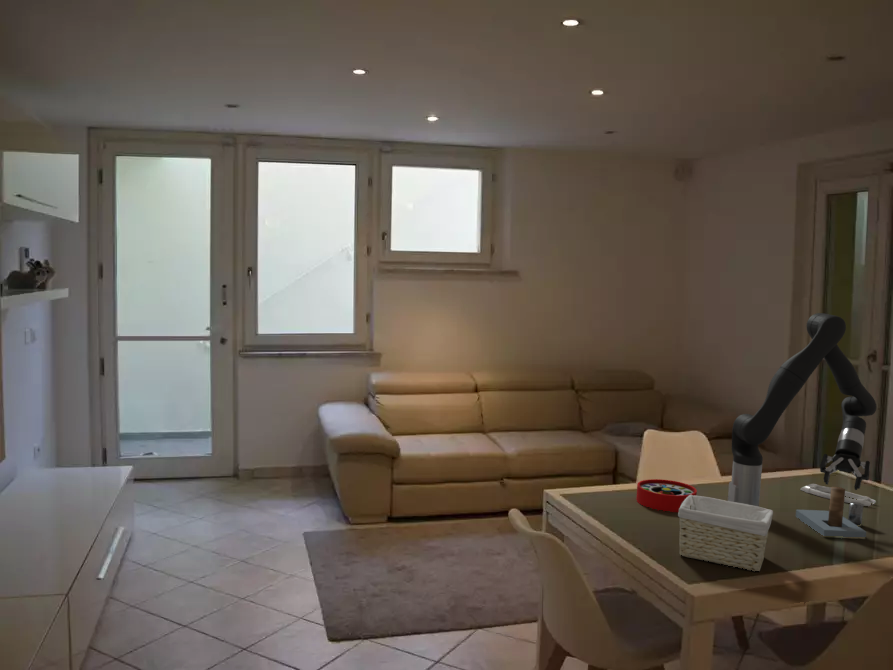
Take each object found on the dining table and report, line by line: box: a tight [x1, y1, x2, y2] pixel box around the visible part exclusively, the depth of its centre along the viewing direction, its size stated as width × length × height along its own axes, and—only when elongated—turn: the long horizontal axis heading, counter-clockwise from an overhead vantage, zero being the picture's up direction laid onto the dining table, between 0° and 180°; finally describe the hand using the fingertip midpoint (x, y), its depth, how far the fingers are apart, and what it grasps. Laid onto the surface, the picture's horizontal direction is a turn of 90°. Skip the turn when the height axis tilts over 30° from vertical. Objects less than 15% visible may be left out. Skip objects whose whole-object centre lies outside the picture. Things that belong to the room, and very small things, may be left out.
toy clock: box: [635, 478, 698, 513], centre depth 271 cm, size 20×6×20 cm
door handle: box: [800, 483, 877, 507], centre depth 286 cm, size 3×10×25 cm
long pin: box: [828, 486, 846, 527], centre depth 248 cm, size 4×4×14 cm
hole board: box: [795, 509, 867, 538], centre depth 252 cm, size 13×20×2 cm, turn 0°
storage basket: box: [677, 495, 774, 572], centre depth 221 cm, size 24×16×15 cm
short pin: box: [847, 502, 864, 525], centre depth 256 cm, size 4×4×7 cm
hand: (841, 485), depth 251 cm, fingers open, 8 cm apart
